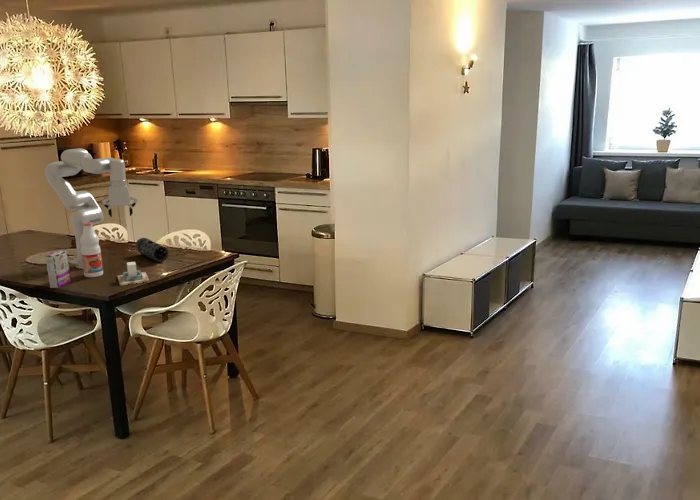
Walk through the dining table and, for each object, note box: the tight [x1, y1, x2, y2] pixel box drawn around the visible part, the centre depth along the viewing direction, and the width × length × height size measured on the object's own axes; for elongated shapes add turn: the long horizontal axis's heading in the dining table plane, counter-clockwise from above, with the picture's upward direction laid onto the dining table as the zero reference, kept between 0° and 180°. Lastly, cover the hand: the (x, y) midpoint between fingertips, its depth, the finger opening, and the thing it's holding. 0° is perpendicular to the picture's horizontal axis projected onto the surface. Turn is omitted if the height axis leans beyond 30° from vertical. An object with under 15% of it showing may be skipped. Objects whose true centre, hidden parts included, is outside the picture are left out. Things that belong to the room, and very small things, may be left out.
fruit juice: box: [80, 222, 104, 278], centre depth 332 cm, size 9×9×28 cm
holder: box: [116, 269, 150, 287], centre depth 325 cm, size 14×16×3 cm
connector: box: [126, 261, 138, 277], centre depth 325 cm, size 4×6×8 cm, turn 23°
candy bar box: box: [45, 250, 72, 289], centre depth 317 cm, size 11×5×16 cm, turn 170°
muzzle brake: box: [134, 237, 170, 264], centre depth 365 cm, size 10×28×10 cm, turn 39°
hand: (120, 216), depth 333 cm, fingers open, 9 cm apart
